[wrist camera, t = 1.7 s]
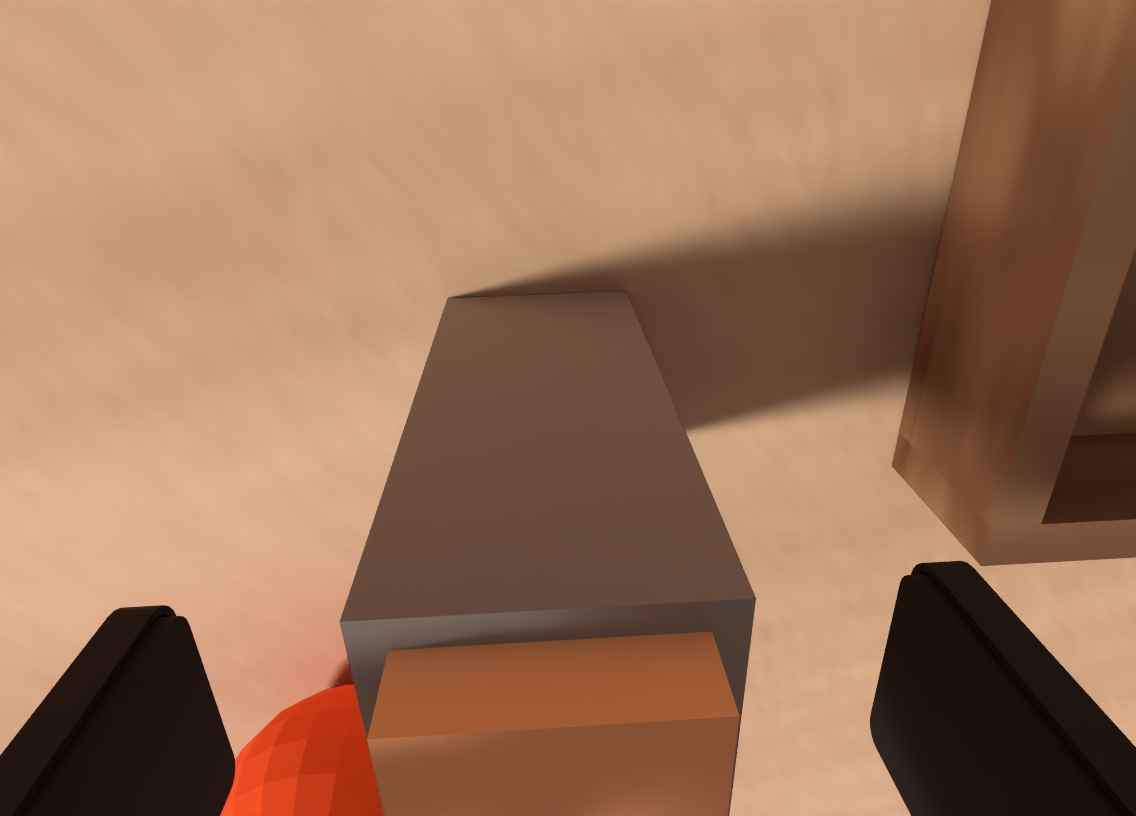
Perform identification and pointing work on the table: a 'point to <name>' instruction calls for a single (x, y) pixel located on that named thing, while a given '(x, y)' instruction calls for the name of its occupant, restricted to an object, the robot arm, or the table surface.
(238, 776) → the clementine
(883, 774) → the table surface
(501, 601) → the plug
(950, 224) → the crate
